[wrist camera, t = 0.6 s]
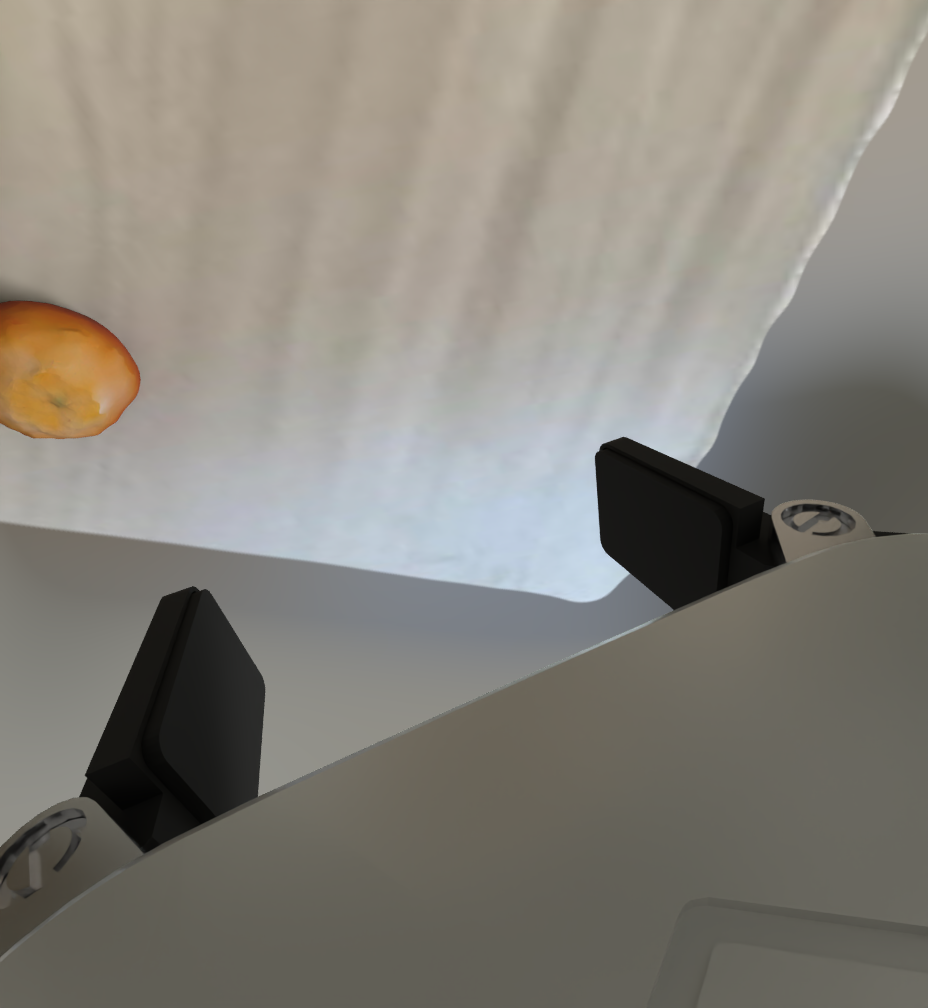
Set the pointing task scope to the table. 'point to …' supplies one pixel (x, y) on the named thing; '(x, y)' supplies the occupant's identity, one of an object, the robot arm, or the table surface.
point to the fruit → (61, 372)
